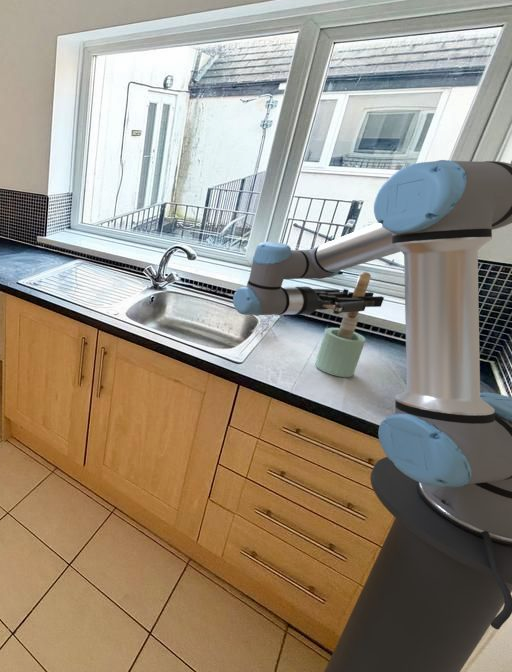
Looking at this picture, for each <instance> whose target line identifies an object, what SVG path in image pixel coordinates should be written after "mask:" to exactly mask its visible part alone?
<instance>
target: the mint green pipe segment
mask: <svg viewBox="0 0 512 672" xmlns="http://www.w3.org/2000/svg"><path fill="white" fill-rule="evenodd" d="M339 328H340V327H328V328H326V329H325V331H324V334H323V337H322V340H321V343H320V346H319V349H318V353H317V356H316V358H315V362H314V365H315V367H316V368H318V369H319V370H321V371H322V372H324V373H326V374H329V375H332V376H336V377H341V378H350V377H352V376H354V374H355V371H356V368H357V366H358V363H359V360H360V357H361V355H362V352H363V349H364V346H365V344H366V337H365V336H364V335H362V334H360V333H358V332H356V331H354V333H353V336H352V339H351V340H350V339H345V338H341V337H338V336H337V334H338V331H339Z"/></svg>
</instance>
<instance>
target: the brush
mask: <svg viewBox="0 0 512 672" xmlns="http://www.w3.org/2000/svg"><path fill="white" fill-rule="evenodd" d="M371 278H372V276H371V274H370V273H369V272H367V271H366V272H361V273H360V274H358V277H357V281H356V284H355V287H354V290H353V291H352V293H353V295H352V298H359V297H364V295H365V293H366V292H367V290H368V287H369V284H370V281H371ZM359 313H360V311H357V312H346V313H345V314H344V313H343V316H342V319H341V323H340V325H339V327H338V328H339V331H338V334H337V336H338V337H341V338H345V339H350V340H351V339H352V336H353V333H354V332H355V331H356V327H357V324H358V321H359V317H358V315H359Z"/></svg>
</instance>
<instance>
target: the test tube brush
mask: <svg viewBox="0 0 512 672" xmlns="http://www.w3.org/2000/svg"><path fill="white" fill-rule="evenodd" d="M272 316H273V315H262V316H260V315H258V316H257V317H256V318H255V319H256V320H257V321H258V322H257V325H256V326H255V327H254V328H253V329H251V331H250V332H251V333H259V336H260V337H261V338H263V337H264V336H263V334H264V333H268V334H270V335H271V336H273V337H274V338H277V336H276V334H275V333H274V330H273V329H272V325H273V323H275V322H276V321H277V319H278V320H279V321H284V324H285V325H286V324H287V323H286V322H287V321H286V320H285V317H284V315H282V318H278V317H281V316H280V315H276V316H275V317H276V318H274V319H272ZM264 317H266V318H264Z"/></svg>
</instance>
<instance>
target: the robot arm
mask: <svg viewBox="0 0 512 672" xmlns="http://www.w3.org/2000/svg"><path fill="white" fill-rule="evenodd" d="M373 214H374V217H375V220H376V222H375V223H372V224H370V225H368V226H365V227H363V228H361V229H358V230H356V231H355V230H354V231H353V232H350V233H347V234H345V235H342V236H340V237H338V238H335V239H333V240H330V241H327V242H325V243H323V244H320V245H317V246H315V247H313V248H310V249H293V250H292V248H291V246H290V245H288V244H286V243H282V242H276V241H262V242H260V243H258V244H257V246H256V248H255V251H254V255H253V257H252V263H251V267H250V273H249V276H248V277H249V278H248V281H247V283H246V286H241V287H239V288H237V289H236V291H235V292H234V293H233V297H232V304H233V307H234V309H235V311H236V312H237V313H239V314H241V315H244V316H255V317H258V315H259V316H265V315H272V316H277V315H280V316H279V317H283V316H284V315H298V316H299V315H311V314H313V313H314V312H316V311H317V310H320V311H323V310H325V311H326V310H332V312H333V314H335V315H340V314H342V313H343V314H344V313H347V312H357V311H359V312H365V310H366V308H381V307H382V305H383V301H384V299H385V297H384V296H382V295H381V296H374V294H375V293H374V292H372V291H370V292H369V291H366V293H365V295H364V297H359V298H352V295H353V292H349V289H347V288H344V289H343V290H342V291H341V289H336V288H334V289H333V288H312V287H310V286H283V281H284V280H301V279H302V280H304V279H305V280H306V279H317V280H321V279H326V278H332V277H336V276H338V274H339V273H340V272H341V271H343V270H346V269H350V268H353V267H356V266H359V265H362V264H365V263H369V262H372V261H375V260H379V259H382V258H384V257H388V256H390V255H395V254H398V253H402V254H403V258H404V259H403V262H404V263H403V264H404V265H403V266H404V267H403V269H404V313H405V314H404V315H405V316H404V317H405V319H404V320H405V364H406V365H405V366H406V388H405V390H403V391H401V392H399V393H398V394H396V395H395V397H394V410H395V413H394V414H390V415H388V416H387V417H386V418H385V419H383V420H382V421H381V422H380V424H379V426H378V431H377V433H378V435H377V436H378V441H379V444H380V447H381V449H382V451H383V452H384V454H385V457H388V458H389V460H391V461H392V462H393V463H394V465H395V466H396V467H397V468H398V469H399V470H400V471H401V472H403V473H404V474H405V475H407V476H408V477H410V478H412V479H414V480H415V481H418V484H417V492H418V494H419V496H420V497H421V499H422V500H423V501H424V502H425V504H426V505H427V506H428V507H430V508H431V509H432V510H433V511H434V512H435V513H437V514H438V515H439V516H441V517H442V518H443V519H445V520H446V521H448V522H449V523H451V524H453V525H454V526H456V527H458V528H460V529H462V530H464V531H465V532H468V533H470V534H472V535H474V536H476V537H479V538H481V539H484V542H485V546H486V550H487V554H488V558H489V563H490V566H491V570H492V572H493V575H494V577H495V579H496V581H497V583H498V585H499V586H500V588H501V590H502V593H503V595H504V601H505V602H504V604H503V607H502V609H501V610H500V611H499V612H498V614H497V615H496V617H495V618H494V620H493V621H492V622H491V625H490V627H492V628H493V629H494V630H500V628H501V627H503V625H504V624H505V623H506V622H507V621H508V619H509V618H510V617H511V616H512V592H511V593H510V591H509V589H508V587H507V586H506V584H505V582H504V580H503V578H502V576H501V574H500V571H499V568H498V564H497V560H496V556H495V552H494V549H493V545H492V543H496V544H499V545H503V546H509V547H512V397H510V396H507V395H503V394H499V393H495V392H481V371H480V370H481V366H480V364H481V363H480V362H481V361H480V312H479V311H480V310H479V308H480V307H479V255H478V254H479V253H478V252H479V250H480V249H481V248H482V247H483V246H485V245H486V244H488V243H489V242H491V241H492V240H493V230H497V229H501V228H503V227H506V226H508V225H511V224H512V163H509V162H505V161H498V160H497V161H496V160H495V161H493V160H485V161H475V160H473V161H471V160H470V161H469V160H468V161H467V160H448V159H439V160H435V161H433V160H432V161H422V162H417V163H413V164H409V165H406V166H405V167H403V168H401V169H399V170H397V171H396V172H394V173H393V174H392V175H390V177H388V179H387V181H386V182H384V183H382V185H381V186H380V188H379V189H378V191H377V193H376V196H375V199H374V202H373Z"/></svg>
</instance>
